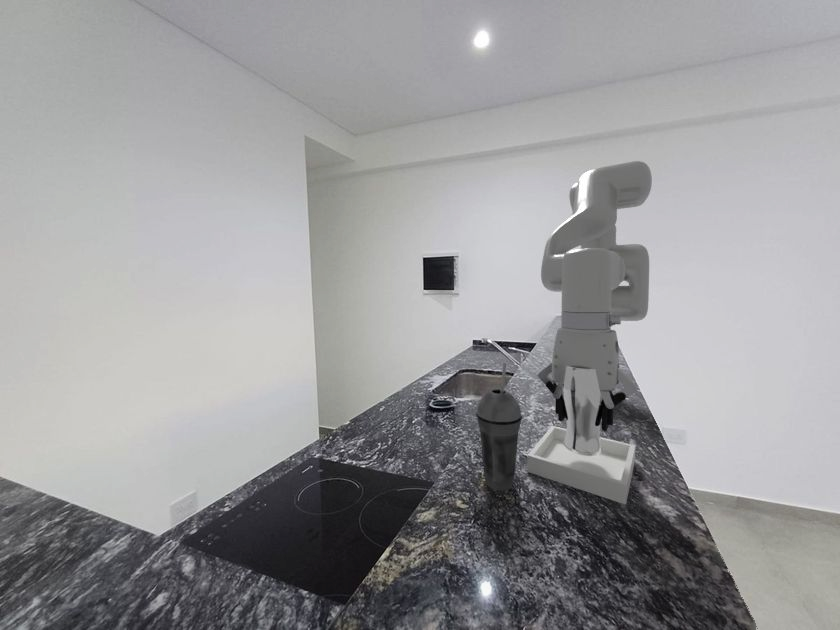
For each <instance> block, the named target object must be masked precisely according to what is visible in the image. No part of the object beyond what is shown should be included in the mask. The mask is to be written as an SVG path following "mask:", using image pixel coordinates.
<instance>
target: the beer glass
mask: <svg viewBox="0 0 840 630" xmlns="http://www.w3.org/2000/svg"><path fill="white" fill-rule="evenodd" d="M562 400H563V406H564V411H565V417H566V418H565V422H566V424H565V425H566V428H565V429H566V435H565V439H564V446H565V447H566V449H568V450H569V451H571V452H573V453H576V454H579V455H584V456H596V455H599V454H601V453H602V446H601V441H600V437H601V433H600V431H601V425H602V407H604V400H603V391H601V390H600V388H599V384H598V379H597V375H596V369H584V368H576V367H571V366H566V370H565V375H564V380H563V384H562Z"/></svg>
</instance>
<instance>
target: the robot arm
mask: <svg viewBox="0 0 840 630" xmlns="http://www.w3.org/2000/svg"><path fill="white" fill-rule="evenodd" d="M652 184H653V179H652V172H651V169H650V167H649V165H648V164H647V163H646V162H644V161H640V160H639V161H637V160H635V161H629V162H624V163H617V164H612V165H607V166H601V167H597V168H593V169H590V170H588V171H587V172H585V173H583V174H582V175H581V176H580V178H579V179H578V180H577V182H575V183H574V184H573V185H572V186H571V188H570V189H569V195H568V196H569V197H568V198H569V203H570V207H571V210H572V215H571V217H569V218H568V219H567V220H565V221H564V222H563V223H561V224H560V225H559V226H558V227H557V228H556V229H555V230H554V231H553V232H552V233H551V235H549V237H548V239H547V241H546V243H545V245H544V250H543V251H544V252H543V256H542V261H541V266H540V267H541V269H540V277H541V283H542V286H543V287H544V288H545V289H546V290H548V291H550V292H556V293H559V292H560V293H561V311H560V312H561V315H560V316H561V318H560V319H561V323H560V324H561V325H560V327H558V328H557V330H556V332H555V339H554V346H553V351H552V359H551V361H552V362H551V363H550V364H549V365H547V366H546V367H545V368H544V369H542V370H541V371H539V373H538V374H537V377H538V379H540V381H541V382H542V383H543V384H544V385H545V387H546V388H547V390H549V392H550V393H551V394H552V397H553V398H554V399H555V415H558V417H557V419H558V420H557V421H559V422H563V421H564V420H566V417H565V411H564V406H563V400H562V384H563V380H564V375H565V370H566V366H571V367H576V368H584V369H596V375H597V379H598V384H599V388H600V390H601V391H603V400H604V407H602V419H601V426H600V430H602V431H603V432H607V431H608V429H609V427H610V426H613V425H614V408H615V407H616V406H617V405H619V404H621V403H622V402H624V401H625V400H626V399H628V398H629V397H631V396H632V395H634V394H635V393H637V391H638V388H639V386H638V385H637V383H635V382H634V381H633V380H632V379H631V378H630V377H629V376H628V375H627V374H625V372H623V371H622V370H621V369H620V351H619V350H620V349H619V340H618V336H617V331H616V330H614V329H612V327H613V326H616V325H622V323H621V322H622V321H623V322H639V321H642V320H644V319H645V318H646V316H647V315H648V310H649V300H650V299H649V295H650V294H649V292H650V291H649V290H650V256H649V251H648V249H647V248H646V246H644V245H643V244H639V243H637V244H636V243H635V244H634V243H633V244H632V243H629V244H617V226H616V223H617V220H618V210H621V209H629V208H630V209H631V208H636V207H640V206H641V205H643V204H644V203H645V202H646V200H647V199H648V198H649V195H650V193H651V190H652ZM577 247H580V248H577ZM575 248H577V249H575ZM622 282H626V283H628V285H621V283H622ZM550 374H551V377H550ZM619 383H620V384H621V385H622V386H623V387H624V388H623V389H622V390H619V391H618V392H617V391H615V389H616V387H617V385H619Z"/></svg>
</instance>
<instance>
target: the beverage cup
mask: <svg viewBox="0 0 840 630" xmlns="http://www.w3.org/2000/svg"><path fill="white" fill-rule="evenodd" d="M506 370H507V362H503V363H502V371H501V379H500V380H501V381H500V382H501V384H500V389H499V388H498V389H492V390H489V391H487V392H485V393H484V394H483V395H482V397H481V398H480V400H479V401H478V404H477V408H476V409H477V410H476V413H475V415H476V418H477V423H478V428H479V434H480V445H481V455H482V466H483V474H484V482H485V484H486V486H487V487H489V488H490V489H492V490H494V491H498V492H499V491H500V492H501V491H502V492H504V491H508V490H510V489H512V487H513V485H514V478H515V474H516V473H515V472H516V463H517V462H516V460H517V451H518V450H517V449H518V439H519V431H520V427H521V423H522V419H523V415H522V411H521V410H522V409H521V407H520V404H519V401H518V400H517V398H516V397H515V396H514V395H513V394H512V393H510V392H508V391H506V390H505V382H506Z"/></svg>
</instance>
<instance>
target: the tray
mask: <svg viewBox="0 0 840 630" xmlns="http://www.w3.org/2000/svg"><path fill="white" fill-rule="evenodd" d="M565 435H566V428H563V427H558V426H554V425H551V426H550V427H549V428H548V430H547V431H546V432H545V433H544V435H543V436H542V437H541V438H540V439H539V441H538V442H537V443H536V444H535V446H533V447H532V449H531V450H530V452H529V453H528V454H527V455H526V457H527V458H526V462H527V463H526V464H527V466H526V472H527V473H530V474H534V475H536V476H539V477H541V478H545V479H548V480H551V481H555V482H557V483H560V484H563V485H565V486H566V485H567V486H569V487H572V488H575V489H578V490H581V491H584V492H587V493H589V494H593V495H595V496H599V497H601V498H604V499H607V500H610V501H613V502H617V503H619V504H622V505H627V501H628V498H629V497H628V495H629V494H630V493H629V491H630V488H631V487H630V486H631V482H632V477H633V472H634V467H635V463H636V444H631V443H626V442H623V441H618V440H614V439H610V438H606V437H602V436H600V441H601V446H602V453H601V454H599V455H596V456H584V455H579V454H576V453H573V452H571V451H569V450H568V449H566V447H565V446H564V439H565Z"/></svg>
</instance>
